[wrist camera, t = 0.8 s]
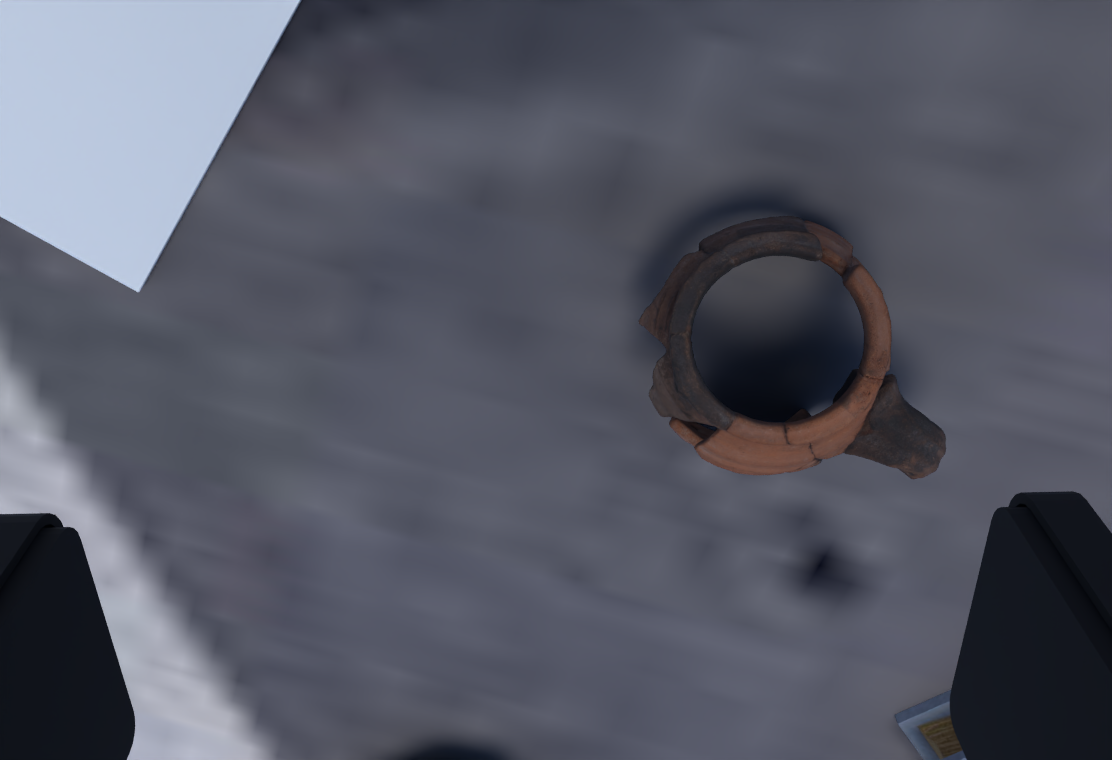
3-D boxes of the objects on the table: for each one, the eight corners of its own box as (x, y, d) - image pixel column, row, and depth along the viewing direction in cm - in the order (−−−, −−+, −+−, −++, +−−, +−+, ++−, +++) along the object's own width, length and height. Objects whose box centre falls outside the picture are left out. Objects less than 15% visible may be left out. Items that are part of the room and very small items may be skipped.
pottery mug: (595, 408, 43) (597, 410, 34) (694, 198, 43) (720, 150, 34) (866, 535, 42) (933, 569, 34) (966, 323, 42) (1057, 305, 34)
